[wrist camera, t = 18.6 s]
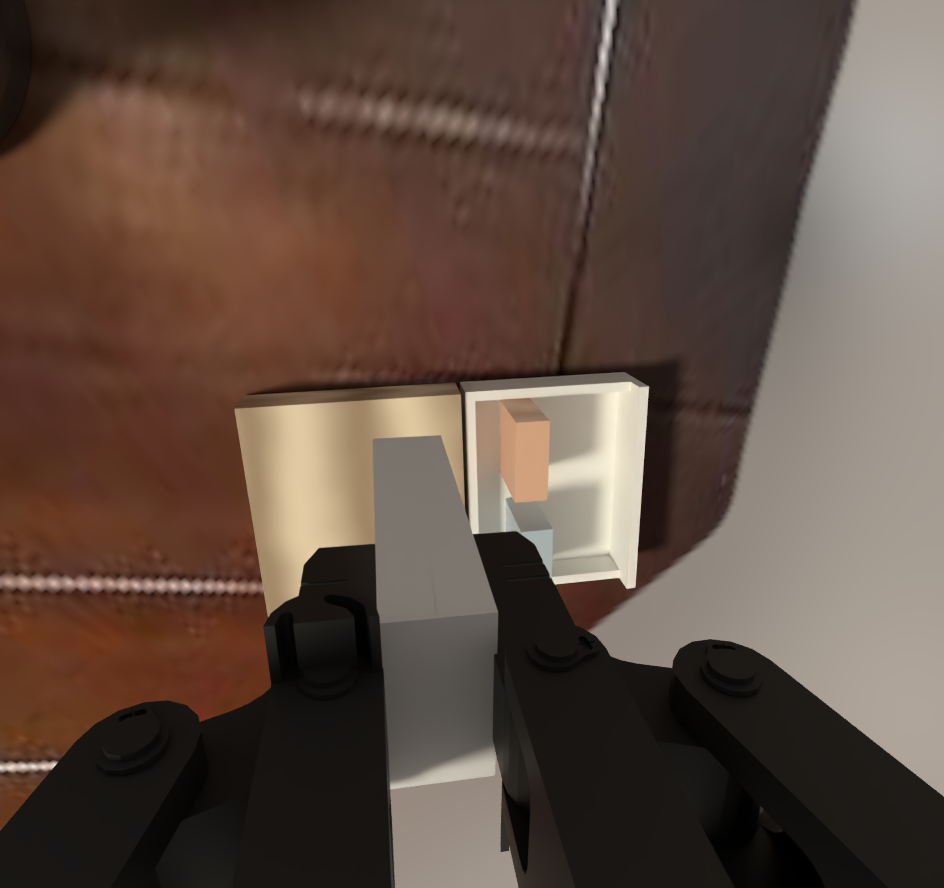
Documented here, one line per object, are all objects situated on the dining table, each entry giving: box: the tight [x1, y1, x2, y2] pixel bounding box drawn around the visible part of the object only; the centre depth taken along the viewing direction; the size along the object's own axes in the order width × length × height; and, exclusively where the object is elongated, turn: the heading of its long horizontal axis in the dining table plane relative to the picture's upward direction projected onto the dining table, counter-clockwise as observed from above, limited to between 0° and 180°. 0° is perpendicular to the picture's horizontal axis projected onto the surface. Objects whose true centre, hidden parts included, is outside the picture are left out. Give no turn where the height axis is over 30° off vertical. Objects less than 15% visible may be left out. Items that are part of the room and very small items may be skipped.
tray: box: [460, 372, 649, 588], centre depth 41 cm, size 11×14×4 cm
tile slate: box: [505, 498, 553, 578], centre depth 41 cm, size 5×5×2 cm
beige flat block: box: [235, 382, 465, 617], centre depth 40 cm, size 13×14×3 cm
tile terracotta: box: [500, 398, 550, 503], centre depth 39 cm, size 5×5×2 cm
